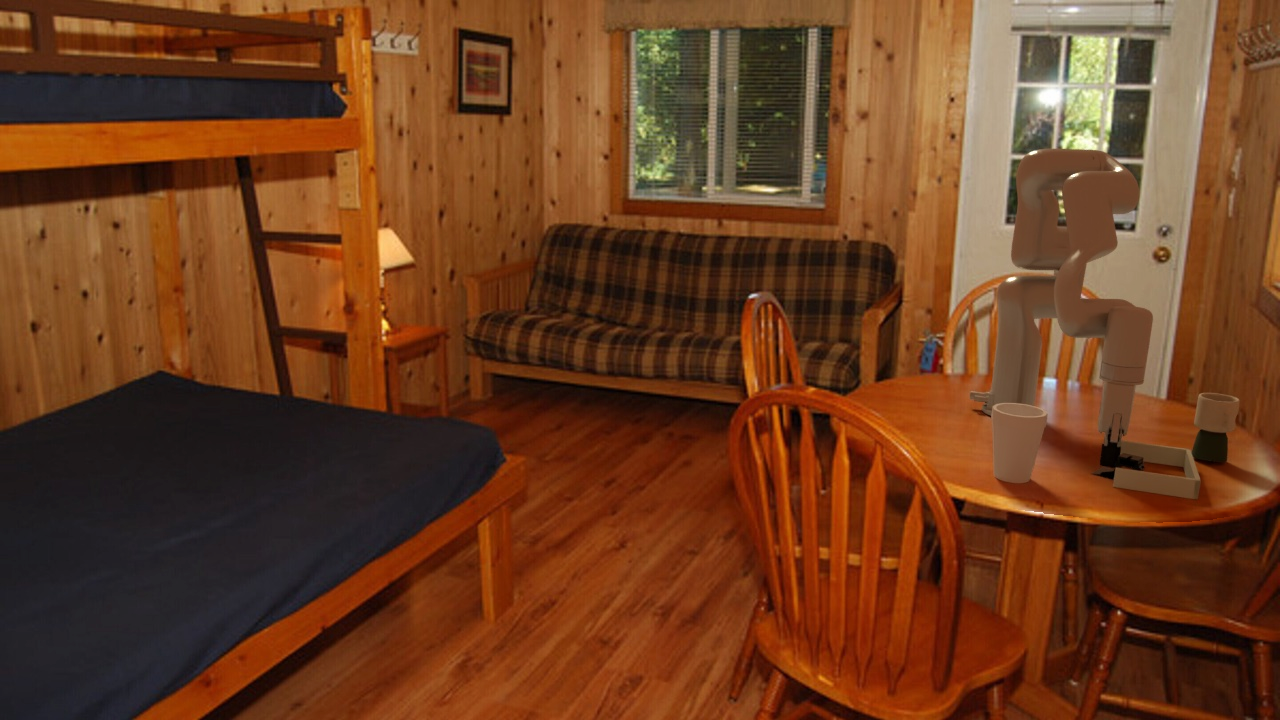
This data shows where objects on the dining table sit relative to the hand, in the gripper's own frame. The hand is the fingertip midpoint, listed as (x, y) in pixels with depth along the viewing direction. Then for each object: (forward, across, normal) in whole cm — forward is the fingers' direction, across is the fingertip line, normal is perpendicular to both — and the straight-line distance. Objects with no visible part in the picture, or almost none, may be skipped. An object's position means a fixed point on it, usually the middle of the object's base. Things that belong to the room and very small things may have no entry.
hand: (1108, 465), depth 190 cm
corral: (+1, 0, +7) cm, 7 cm away
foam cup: (+1, +13, -16) cm, 21 cm away
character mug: (+1, -16, +18) cm, 24 cm away
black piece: (+2, +3, +3) cm, 5 cm away
